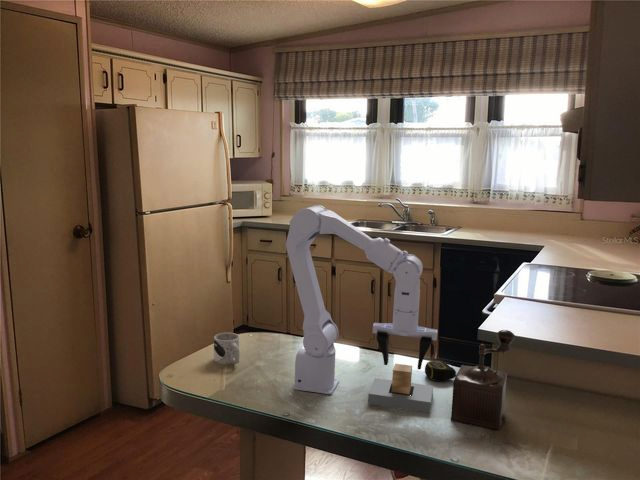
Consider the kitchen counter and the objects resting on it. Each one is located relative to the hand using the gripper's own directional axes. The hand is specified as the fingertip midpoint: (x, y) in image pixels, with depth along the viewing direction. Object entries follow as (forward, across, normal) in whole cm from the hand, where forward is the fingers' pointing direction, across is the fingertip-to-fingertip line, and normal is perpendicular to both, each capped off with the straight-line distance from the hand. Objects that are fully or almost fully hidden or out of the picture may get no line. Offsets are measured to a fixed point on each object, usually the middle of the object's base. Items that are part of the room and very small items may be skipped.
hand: (402, 365), depth 127 cm
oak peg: (+8, 0, 0) cm, 9 cm away
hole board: (+8, 0, 0) cm, 8 cm away
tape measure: (+9, +8, +16) cm, 20 cm away
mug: (+9, -47, +8) cm, 48 cm away
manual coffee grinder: (+9, +18, 0) cm, 20 cm away
